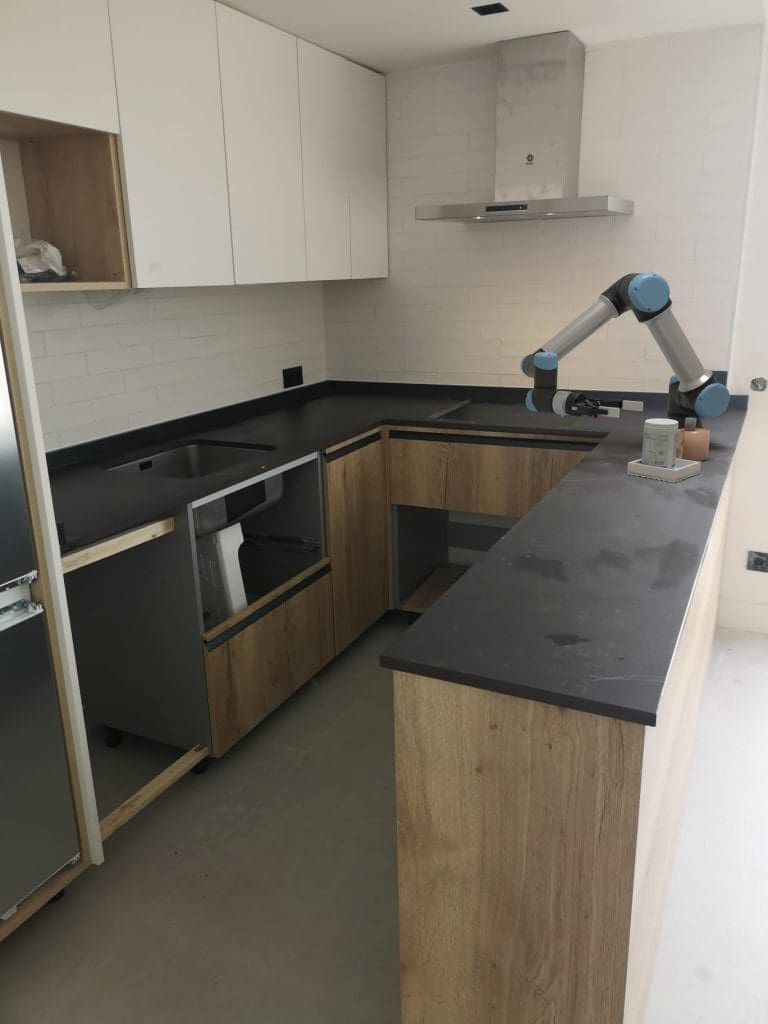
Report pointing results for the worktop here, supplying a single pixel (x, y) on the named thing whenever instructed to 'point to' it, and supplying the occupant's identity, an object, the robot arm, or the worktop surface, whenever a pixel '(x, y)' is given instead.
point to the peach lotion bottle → (695, 441)
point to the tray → (665, 470)
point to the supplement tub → (660, 443)
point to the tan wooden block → (680, 443)
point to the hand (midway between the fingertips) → (630, 409)
